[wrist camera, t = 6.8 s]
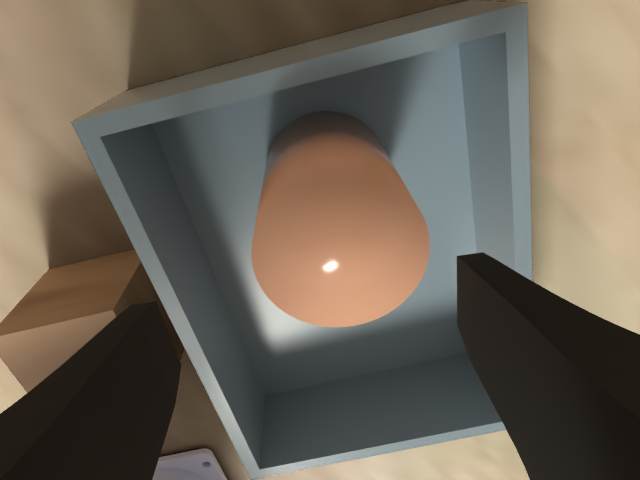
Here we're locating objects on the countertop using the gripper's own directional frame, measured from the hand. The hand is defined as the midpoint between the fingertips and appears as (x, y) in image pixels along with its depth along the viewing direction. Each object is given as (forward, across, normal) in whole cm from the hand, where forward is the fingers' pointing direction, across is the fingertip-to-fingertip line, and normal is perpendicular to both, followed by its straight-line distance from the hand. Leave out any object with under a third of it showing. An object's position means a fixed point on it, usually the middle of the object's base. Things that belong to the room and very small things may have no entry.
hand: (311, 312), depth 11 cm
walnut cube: (+10, +10, +5) cm, 15 cm away
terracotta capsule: (+9, -1, 0) cm, 9 cm away
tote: (+10, -1, +4) cm, 10 cm away
